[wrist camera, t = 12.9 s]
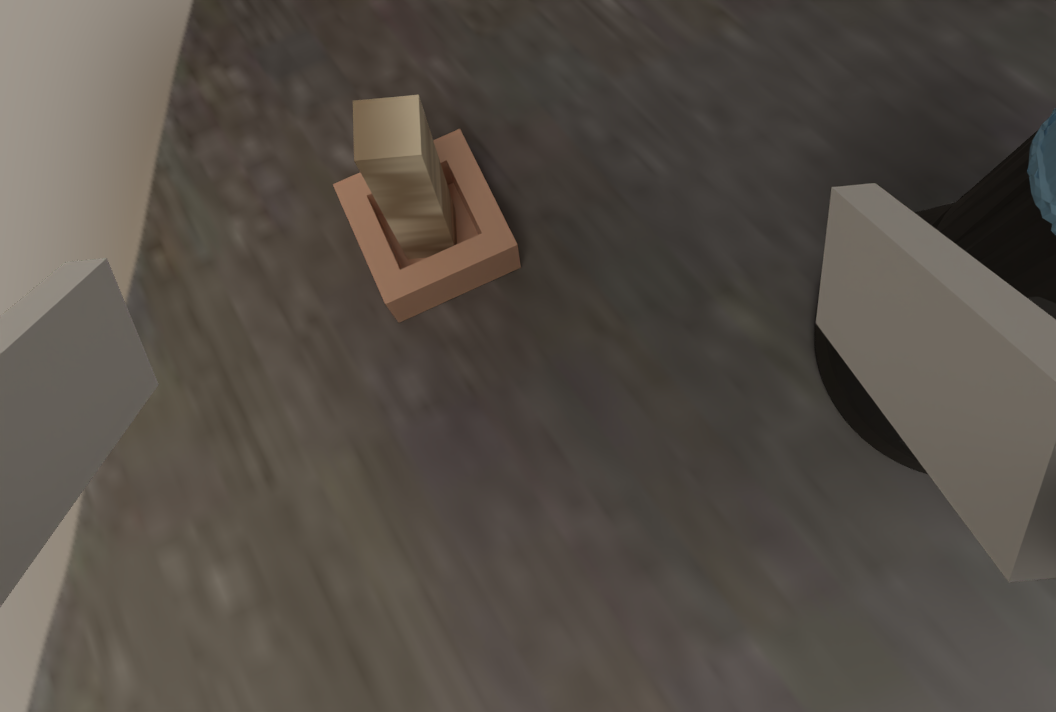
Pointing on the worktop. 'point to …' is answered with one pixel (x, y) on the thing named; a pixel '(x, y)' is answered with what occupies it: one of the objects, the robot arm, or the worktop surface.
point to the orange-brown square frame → (451, 271)
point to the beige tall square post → (404, 173)
